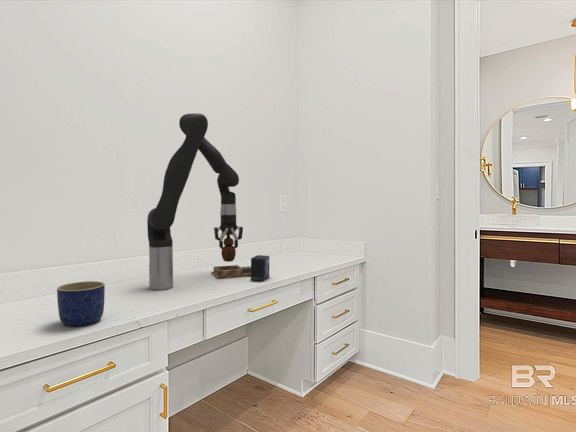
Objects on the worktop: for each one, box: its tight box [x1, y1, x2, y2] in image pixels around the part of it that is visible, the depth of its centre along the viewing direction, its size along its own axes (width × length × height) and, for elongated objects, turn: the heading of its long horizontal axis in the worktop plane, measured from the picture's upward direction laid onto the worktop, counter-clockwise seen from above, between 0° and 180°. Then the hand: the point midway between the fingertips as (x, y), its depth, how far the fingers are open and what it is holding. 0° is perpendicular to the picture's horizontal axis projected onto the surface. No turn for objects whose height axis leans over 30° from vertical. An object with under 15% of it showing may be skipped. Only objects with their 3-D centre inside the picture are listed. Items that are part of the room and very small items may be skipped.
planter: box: [56, 280, 106, 327], centre depth 111 cm, size 12×12×11 cm
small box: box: [250, 254, 270, 283], centre depth 172 cm, size 11×6×10 cm, turn 168°
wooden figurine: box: [221, 231, 237, 263], centre depth 180 cm, size 7×6×15 cm
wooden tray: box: [211, 264, 251, 280], centre depth 182 cm, size 20×14×4 cm
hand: (228, 248), depth 180 cm, fingers closed on wooden figurine, 6 cm apart
